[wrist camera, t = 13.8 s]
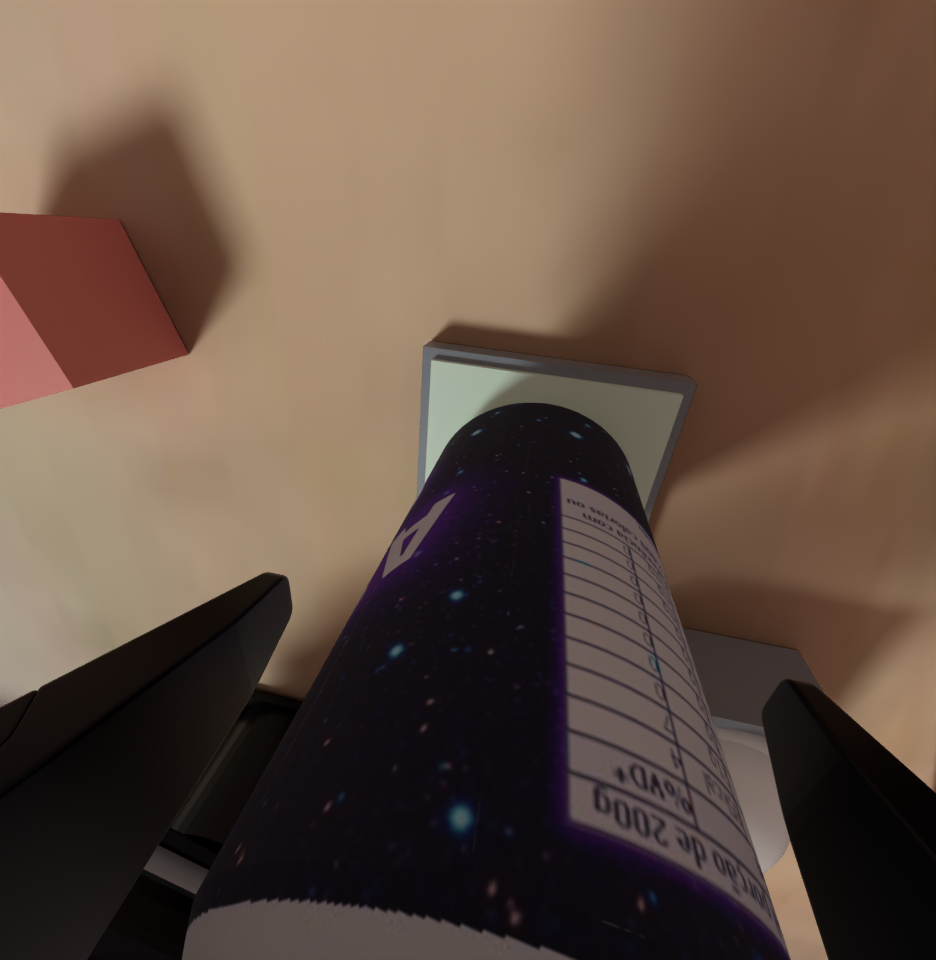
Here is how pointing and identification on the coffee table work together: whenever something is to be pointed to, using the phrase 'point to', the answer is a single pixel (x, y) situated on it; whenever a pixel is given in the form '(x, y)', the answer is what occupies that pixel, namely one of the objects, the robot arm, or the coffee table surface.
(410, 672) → the beverage can
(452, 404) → the game board
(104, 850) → the robot arm
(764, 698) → the dome base
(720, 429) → the coffee table surface
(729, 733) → the dome
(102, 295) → the die
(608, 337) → the coffee table surface
